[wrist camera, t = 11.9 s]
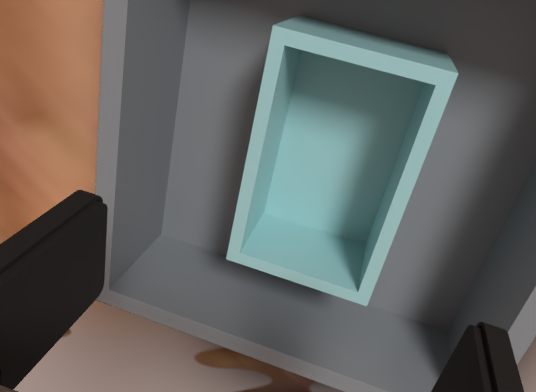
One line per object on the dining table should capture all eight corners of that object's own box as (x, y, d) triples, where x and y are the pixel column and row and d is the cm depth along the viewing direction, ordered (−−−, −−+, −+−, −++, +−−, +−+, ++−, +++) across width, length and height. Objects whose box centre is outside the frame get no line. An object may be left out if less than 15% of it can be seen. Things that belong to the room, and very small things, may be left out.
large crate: (193, -122, 22) (110, -159, 16) (648, -19, 19) (762, -16, 13) (152, 234, 31) (90, 298, 25) (456, 337, 29) (469, 437, 22)
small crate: (299, 15, 22) (273, 25, 18) (448, 52, 21) (458, 73, 17) (254, 213, 27) (225, 259, 23) (373, 251, 26) (366, 306, 22)
